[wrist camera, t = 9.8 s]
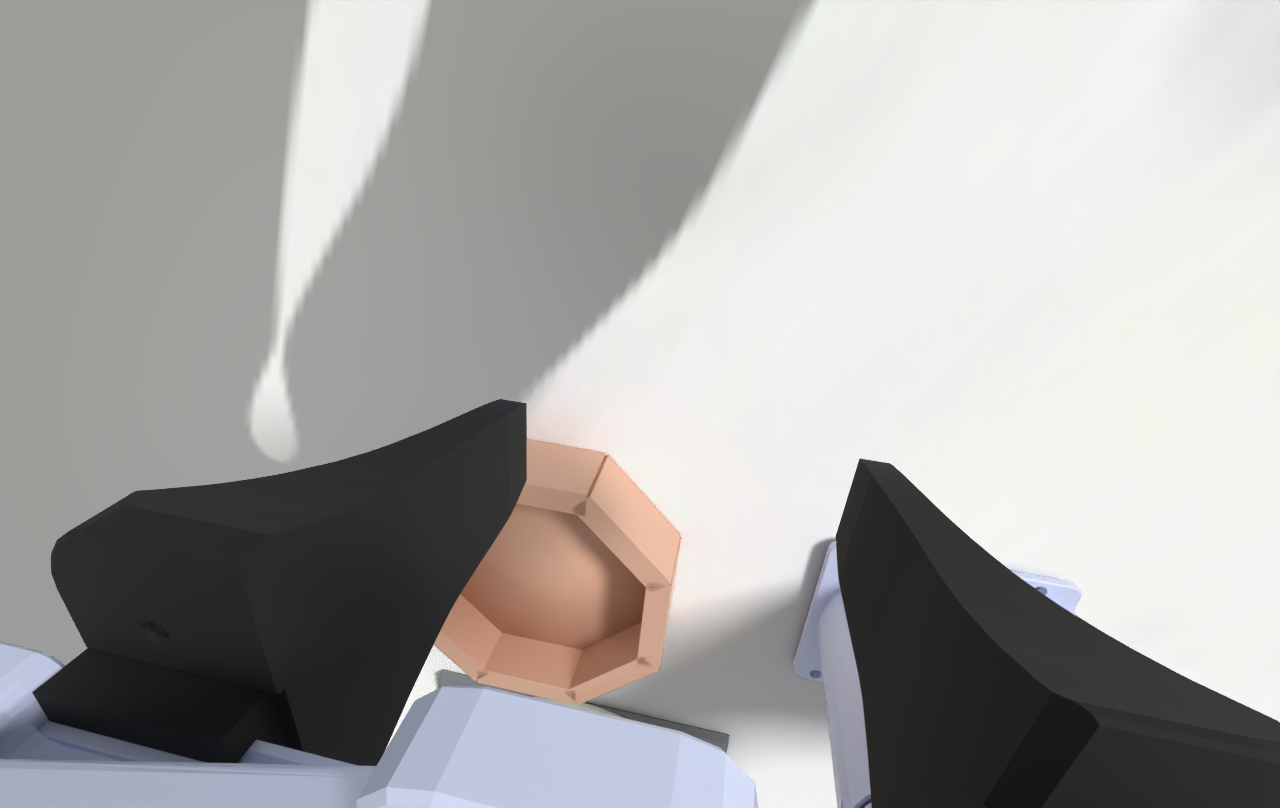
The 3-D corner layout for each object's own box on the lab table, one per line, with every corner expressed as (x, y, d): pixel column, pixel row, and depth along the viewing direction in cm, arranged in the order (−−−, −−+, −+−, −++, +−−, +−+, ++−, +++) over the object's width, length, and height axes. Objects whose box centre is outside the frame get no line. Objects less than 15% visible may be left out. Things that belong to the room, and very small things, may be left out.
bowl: (691, 467, 24) (682, 512, 21) (661, 667, 29) (651, 722, 26) (416, 420, 25) (375, 456, 22) (437, 618, 31) (406, 666, 28)
